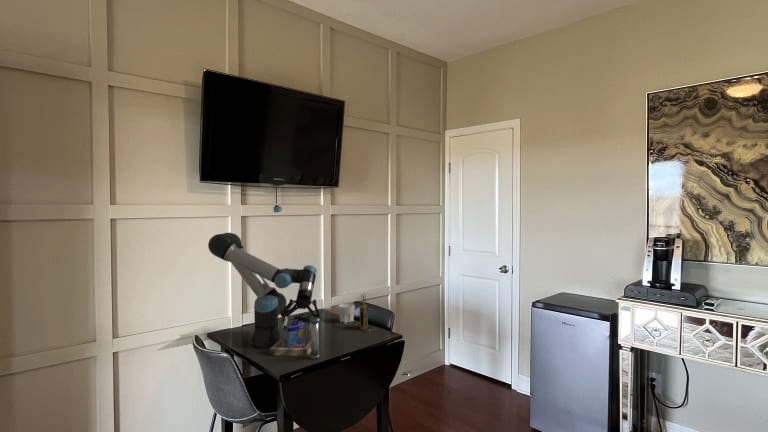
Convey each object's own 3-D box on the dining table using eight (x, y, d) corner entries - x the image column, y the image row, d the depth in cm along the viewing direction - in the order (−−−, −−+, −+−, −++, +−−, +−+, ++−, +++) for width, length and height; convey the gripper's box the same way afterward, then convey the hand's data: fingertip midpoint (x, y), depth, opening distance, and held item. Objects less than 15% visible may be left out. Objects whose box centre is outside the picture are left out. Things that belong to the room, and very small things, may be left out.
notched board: (269, 355, 194) (269, 348, 194) (281, 344, 210) (280, 338, 210) (307, 356, 193) (307, 349, 193) (315, 345, 209) (315, 339, 209)
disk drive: (293, 320, 258) (311, 323, 250) (293, 316, 258) (311, 318, 250) (305, 316, 267) (322, 319, 259) (305, 312, 267) (322, 315, 259)
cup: (337, 319, 256) (337, 304, 256) (353, 318, 259) (353, 303, 259) (339, 324, 247) (339, 307, 247) (356, 323, 249) (356, 306, 249)
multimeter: (375, 332, 229) (375, 297, 229) (358, 331, 231) (358, 296, 231) (380, 325, 244) (380, 291, 243) (364, 324, 246) (364, 291, 245)
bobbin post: (308, 359, 189) (308, 320, 189) (311, 355, 194) (310, 317, 194) (318, 359, 189) (318, 320, 188) (321, 355, 194) (321, 317, 193)
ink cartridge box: (288, 353, 197) (288, 323, 197) (282, 350, 201) (282, 320, 201) (306, 348, 204) (305, 319, 204) (299, 345, 208) (299, 317, 208)
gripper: (329, 296, 219) (323, 333, 205) (284, 295, 222) (274, 332, 208) (327, 288, 214) (320, 326, 200) (280, 288, 216) (270, 325, 202)
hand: (297, 329), depth 204 cm, fingers open, 13 cm apart
